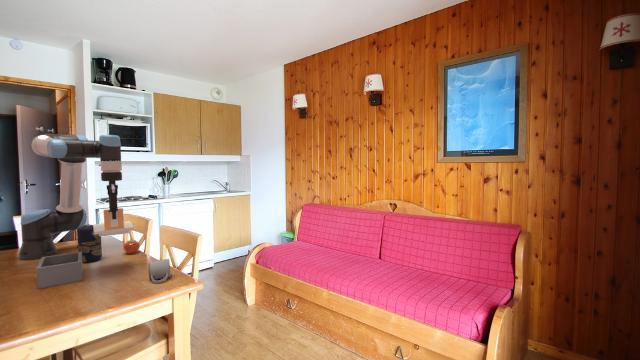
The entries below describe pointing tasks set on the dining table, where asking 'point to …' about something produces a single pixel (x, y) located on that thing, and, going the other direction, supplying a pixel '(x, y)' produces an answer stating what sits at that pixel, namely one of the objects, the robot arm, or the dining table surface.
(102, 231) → the lid
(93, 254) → the canister
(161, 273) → the ceramic mug
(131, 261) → the dining table surface
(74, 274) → the tub
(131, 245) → the tomato
